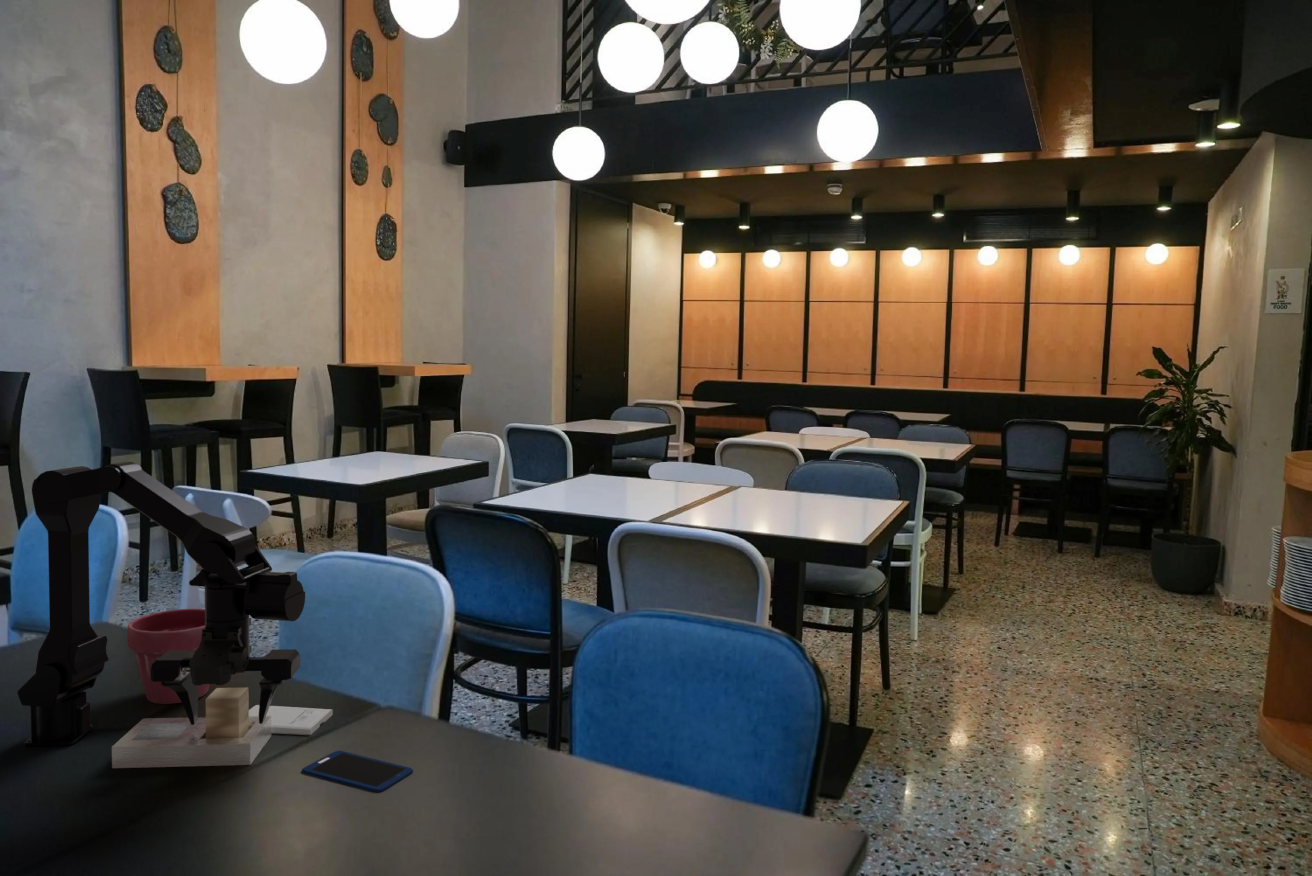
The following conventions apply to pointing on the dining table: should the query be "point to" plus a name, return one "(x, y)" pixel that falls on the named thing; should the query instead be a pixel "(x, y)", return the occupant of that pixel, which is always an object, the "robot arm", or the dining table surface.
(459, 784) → the dining table surface
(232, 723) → the maple peg
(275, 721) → the external hard drive
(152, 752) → the double square frame
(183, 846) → the dining table surface
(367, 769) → the cell phone
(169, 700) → the plant pot
